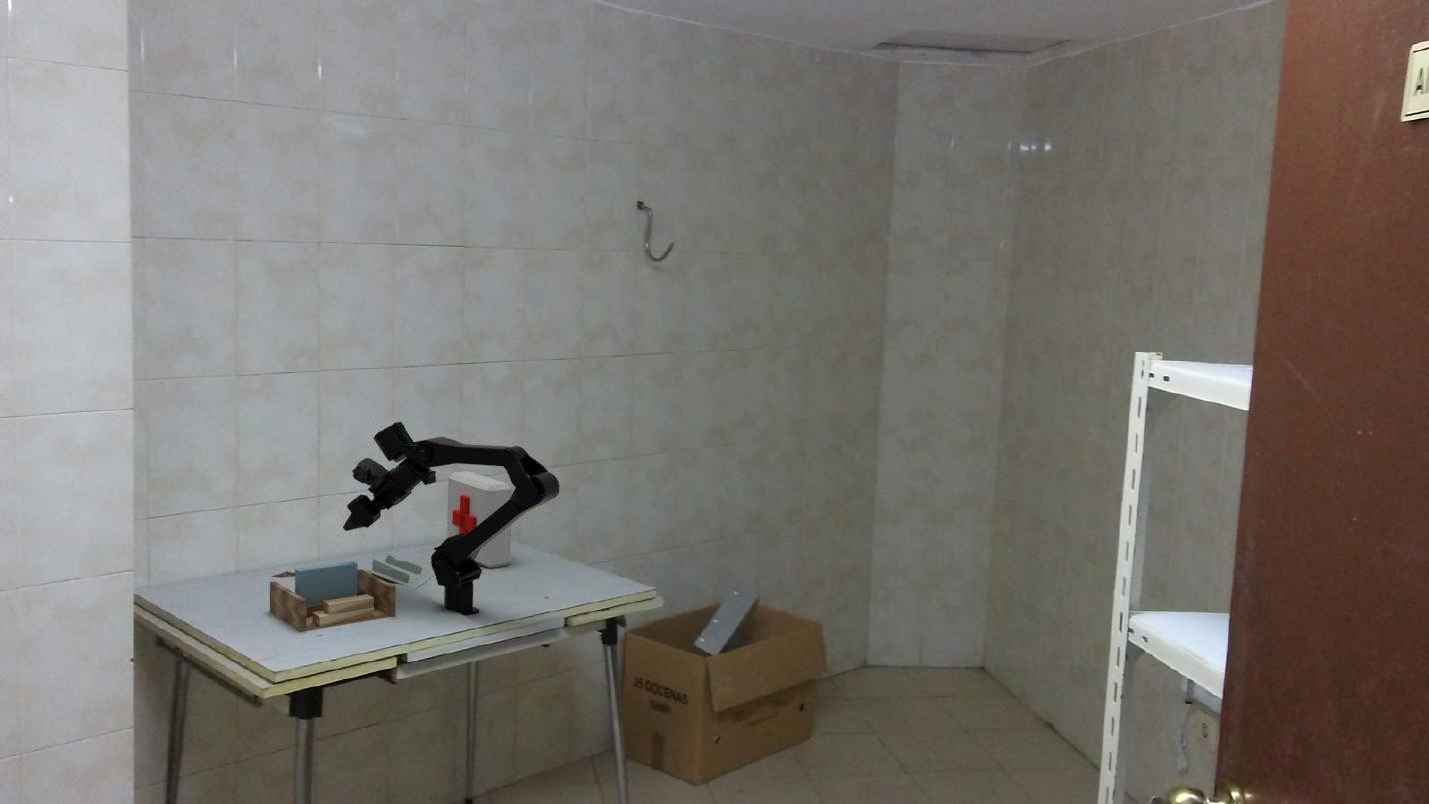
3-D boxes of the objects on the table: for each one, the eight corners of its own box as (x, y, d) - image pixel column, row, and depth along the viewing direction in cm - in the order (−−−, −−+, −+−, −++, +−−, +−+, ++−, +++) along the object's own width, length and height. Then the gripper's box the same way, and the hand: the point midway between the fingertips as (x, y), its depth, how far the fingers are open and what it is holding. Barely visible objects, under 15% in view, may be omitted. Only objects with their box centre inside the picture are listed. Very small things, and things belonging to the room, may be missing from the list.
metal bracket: (360, 563, 255) (387, 548, 270) (352, 588, 256) (380, 571, 271) (420, 586, 254) (444, 569, 269) (412, 610, 255) (437, 592, 270)
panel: (357, 606, 238) (357, 563, 237) (298, 615, 231) (299, 571, 230) (352, 604, 240) (353, 561, 239) (294, 613, 232) (295, 569, 231)
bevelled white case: (440, 552, 291) (442, 472, 289) (469, 548, 296) (471, 470, 294) (482, 570, 275) (484, 486, 273) (512, 566, 280) (514, 483, 278)
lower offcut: (374, 617, 231) (374, 608, 231) (319, 627, 224) (319, 616, 224) (366, 613, 234) (366, 603, 234) (312, 622, 227) (312, 612, 227)
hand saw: (226, 601, 243) (226, 598, 243) (209, 599, 245) (209, 595, 245) (305, 575, 265) (305, 572, 265) (289, 573, 267) (289, 570, 267)
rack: (395, 620, 233) (395, 586, 233) (301, 636, 221) (301, 600, 220) (360, 601, 245) (361, 569, 245) (269, 616, 233) (269, 581, 232)
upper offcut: (373, 607, 231) (373, 597, 231) (329, 614, 225) (329, 604, 225) (367, 604, 234) (367, 594, 233) (323, 611, 228) (323, 601, 227)
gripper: (397, 436, 251) (351, 477, 257) (355, 464, 234) (306, 508, 239) (432, 475, 252) (385, 515, 257) (392, 506, 235) (343, 549, 240)
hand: (355, 520), depth 248 cm, fingers open, 9 cm apart
